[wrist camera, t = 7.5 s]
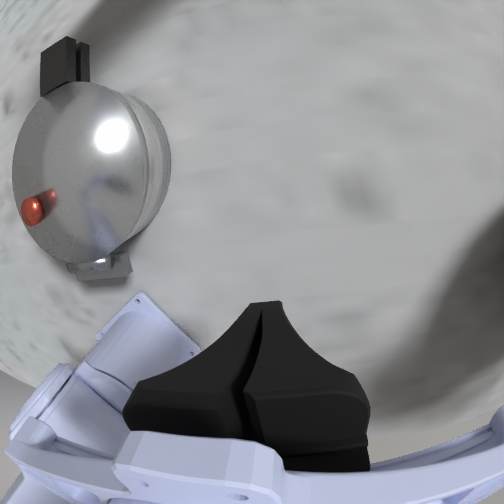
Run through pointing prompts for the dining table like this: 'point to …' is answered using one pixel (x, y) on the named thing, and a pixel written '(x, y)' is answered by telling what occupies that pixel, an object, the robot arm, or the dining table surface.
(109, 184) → the cooker lid
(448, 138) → the dining table surface
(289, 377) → the robot arm
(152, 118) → the cooker pot
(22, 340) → the dining table surface
